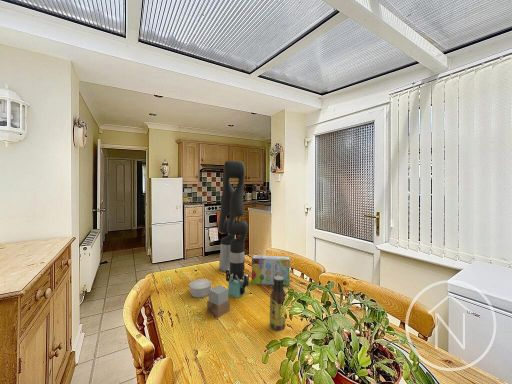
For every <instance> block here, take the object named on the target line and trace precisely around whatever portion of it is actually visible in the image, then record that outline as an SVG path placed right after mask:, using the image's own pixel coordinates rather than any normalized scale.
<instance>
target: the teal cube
mask: <svg viewBox="0 0 512 384" xmlns="http://www.w3.org/2000/svg"><path fill="white" fill-rule="evenodd" d="M240 281H242V279H241V280H240ZM242 285H243V284H242ZM240 288H241V286H240V284H239V283H238V281H237V280H233V281H231V282H228V296H231V297H234V298H236V299H238V298H240V297H242V296H243V295H245V294H246V292H245V293H244V294H243V295H241V294H240Z"/></svg>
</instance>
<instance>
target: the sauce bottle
mask: <svg viewBox="0 0 512 384" xmlns="http://www.w3.org/2000/svg"><path fill="white" fill-rule="evenodd" d="M273 281H274V285H273V290H272V291H271V293H270V298H269V299H270V300H269V326H270V327H271V329H274V330H277V331H281V330H283V329H285V327H286V321H287V320H286V318H287V317H286V318H284V317H280V310H281V306H282V302H283V299H284V297H285V296H286V297H287V295H286V292H285V290H284V286H283V282H284V278H283V277H282V276H275V277H274V279H273Z"/></svg>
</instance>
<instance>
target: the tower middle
mask: <svg viewBox="0 0 512 384" xmlns="http://www.w3.org/2000/svg"><path fill="white" fill-rule="evenodd" d="M228 291H229V288H227V287H224V286H222V285H219V284H218V285H216V286H214V287H212V288H211V289H210V290H209V294H208V301H210V302H212V303H214V304H216V305H218V306H219V305H220V304H222V303H224V302H226V301H228V299H229V294H228Z"/></svg>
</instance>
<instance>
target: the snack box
mask: <svg viewBox="0 0 512 384" xmlns="http://www.w3.org/2000/svg"><path fill="white" fill-rule="evenodd" d="M290 269H291V258H290V256H277V255H275V256H273V255H254V254H253V255H252V257H251V284H252V285H265V286H266V285H268V286H274V281H273V279H274V277H275V276H282V277H283V278H284V282H283V285H284V286H283V287H290V275H291V274H290V272H291V271H290Z"/></svg>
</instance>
